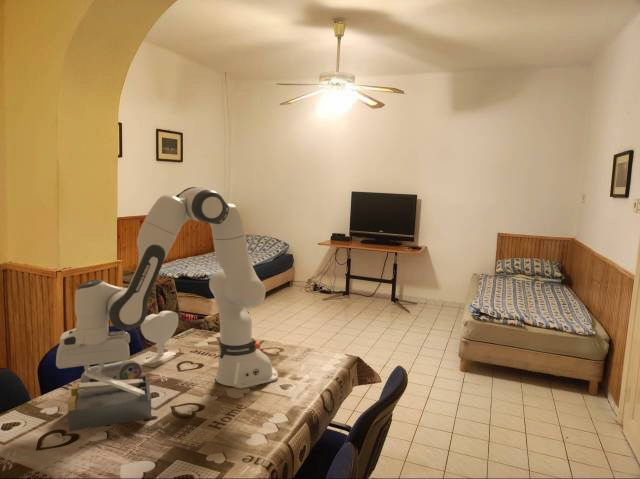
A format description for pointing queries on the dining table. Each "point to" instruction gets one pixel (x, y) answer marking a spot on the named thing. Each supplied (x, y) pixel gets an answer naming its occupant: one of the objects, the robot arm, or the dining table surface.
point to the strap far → (103, 385)
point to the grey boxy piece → (107, 406)
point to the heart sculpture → (160, 332)
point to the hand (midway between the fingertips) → (95, 377)
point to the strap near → (114, 382)
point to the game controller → (117, 371)
